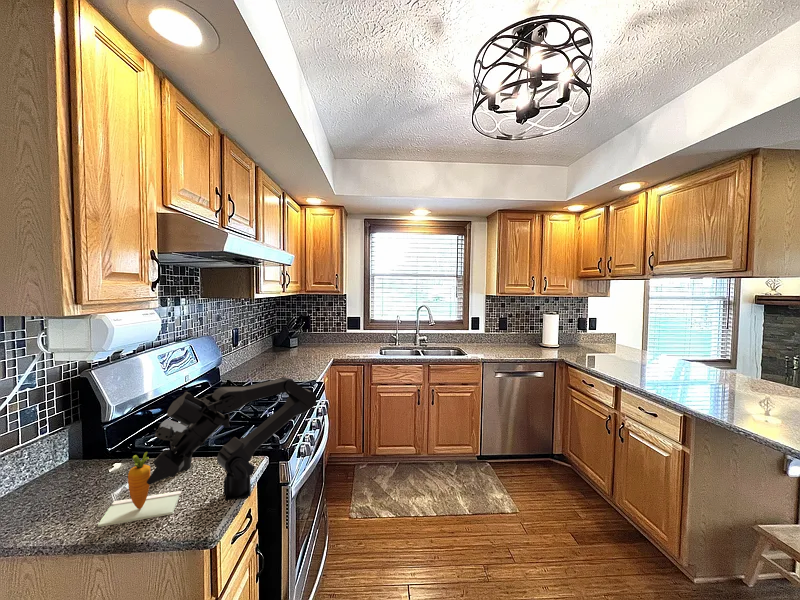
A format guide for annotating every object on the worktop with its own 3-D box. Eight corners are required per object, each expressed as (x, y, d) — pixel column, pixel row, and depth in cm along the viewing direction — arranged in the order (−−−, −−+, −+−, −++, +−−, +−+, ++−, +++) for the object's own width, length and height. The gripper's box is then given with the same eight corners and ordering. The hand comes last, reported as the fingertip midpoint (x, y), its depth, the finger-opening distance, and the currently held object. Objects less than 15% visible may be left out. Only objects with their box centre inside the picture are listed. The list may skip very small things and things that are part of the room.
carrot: (148, 500, 101) (147, 447, 100) (153, 508, 98) (153, 453, 97) (126, 509, 97) (125, 453, 96) (131, 517, 94) (130, 459, 93)
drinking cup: (163, 470, 118) (162, 409, 117) (186, 460, 125) (185, 402, 124) (177, 476, 115) (177, 413, 114) (200, 466, 121) (200, 406, 121)
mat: (179, 497, 104) (179, 495, 104) (172, 514, 96) (172, 511, 96) (110, 508, 98) (110, 506, 98) (97, 527, 91) (97, 524, 91)
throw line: (181, 492, 106) (181, 490, 106) (180, 494, 105) (180, 493, 105) (114, 502, 101) (114, 501, 101) (112, 505, 99) (112, 504, 99)
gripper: (189, 399, 107) (148, 439, 106) (161, 423, 89) (111, 472, 87) (219, 424, 109) (178, 464, 108) (198, 453, 91) (149, 501, 89)
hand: (156, 474), depth 98 cm, fingers open, 9 cm apart
